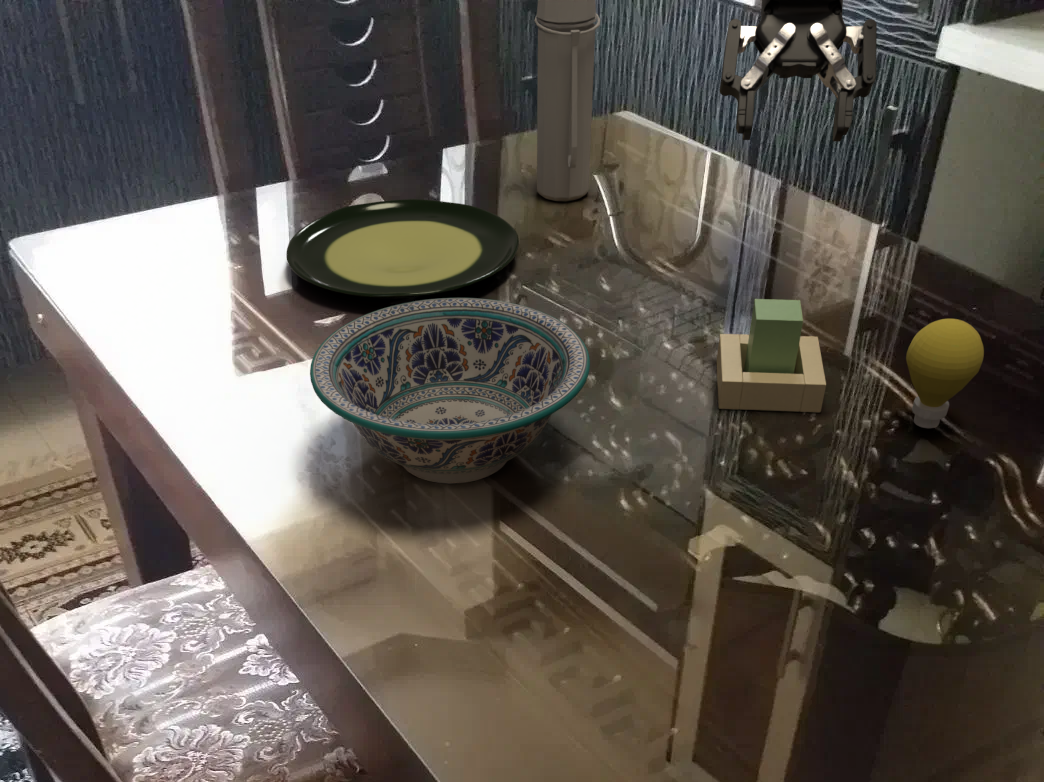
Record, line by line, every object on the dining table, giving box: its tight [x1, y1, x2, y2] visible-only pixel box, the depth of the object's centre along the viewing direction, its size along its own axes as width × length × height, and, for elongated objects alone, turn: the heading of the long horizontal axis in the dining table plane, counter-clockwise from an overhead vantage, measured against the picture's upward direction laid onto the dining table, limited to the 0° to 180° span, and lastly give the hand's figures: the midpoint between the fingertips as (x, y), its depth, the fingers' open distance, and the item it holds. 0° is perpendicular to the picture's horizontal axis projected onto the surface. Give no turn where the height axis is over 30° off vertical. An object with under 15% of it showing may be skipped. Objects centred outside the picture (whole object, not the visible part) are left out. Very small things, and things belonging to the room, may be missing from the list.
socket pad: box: [715, 333, 827, 413], centre depth 115 cm, size 10×10×3 cm
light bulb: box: [905, 318, 985, 429], centre depth 107 cm, size 7×7×10 cm
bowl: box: [309, 297, 591, 484], centre depth 106 cm, size 25×25×10 cm
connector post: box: [743, 298, 804, 374], centre depth 114 cm, size 4×4×8 cm
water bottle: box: [533, 0, 601, 202], centre depth 144 cm, size 9×8×25 cm
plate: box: [285, 198, 520, 299], centre depth 138 cm, size 28×28×2 cm
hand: (792, 136), depth 109 cm, fingers open, 8 cm apart
